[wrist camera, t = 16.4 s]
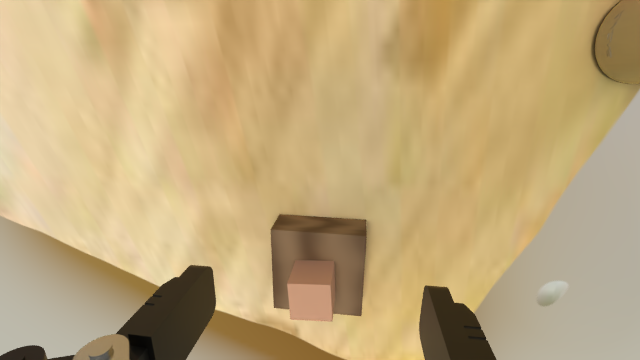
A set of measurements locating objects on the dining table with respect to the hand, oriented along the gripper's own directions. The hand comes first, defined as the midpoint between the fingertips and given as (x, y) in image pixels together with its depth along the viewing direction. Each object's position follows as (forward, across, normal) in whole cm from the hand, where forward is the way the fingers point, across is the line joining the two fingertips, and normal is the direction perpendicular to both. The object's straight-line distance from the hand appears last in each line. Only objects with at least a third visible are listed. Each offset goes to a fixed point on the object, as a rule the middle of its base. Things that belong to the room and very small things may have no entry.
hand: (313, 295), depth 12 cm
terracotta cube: (+26, +3, +17) cm, 31 cm away
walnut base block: (+30, +3, +17) cm, 35 cm away
